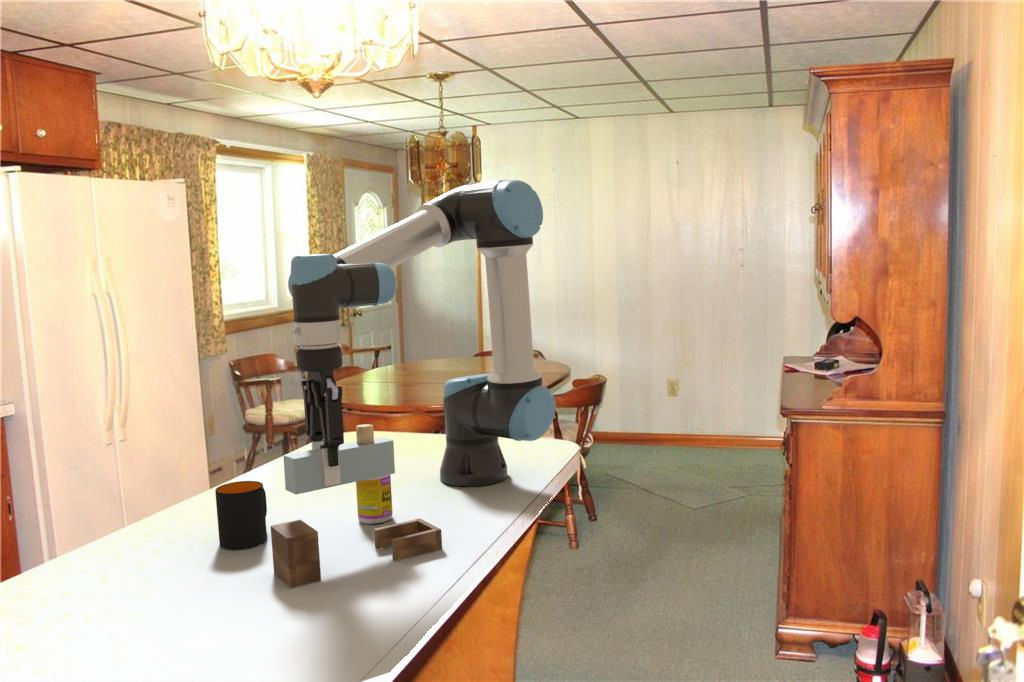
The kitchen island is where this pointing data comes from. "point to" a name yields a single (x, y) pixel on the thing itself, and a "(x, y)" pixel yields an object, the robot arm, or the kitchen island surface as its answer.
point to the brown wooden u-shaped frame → (409, 538)
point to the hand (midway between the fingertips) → (327, 480)
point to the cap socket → (295, 553)
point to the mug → (241, 515)
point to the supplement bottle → (374, 500)
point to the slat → (341, 462)
